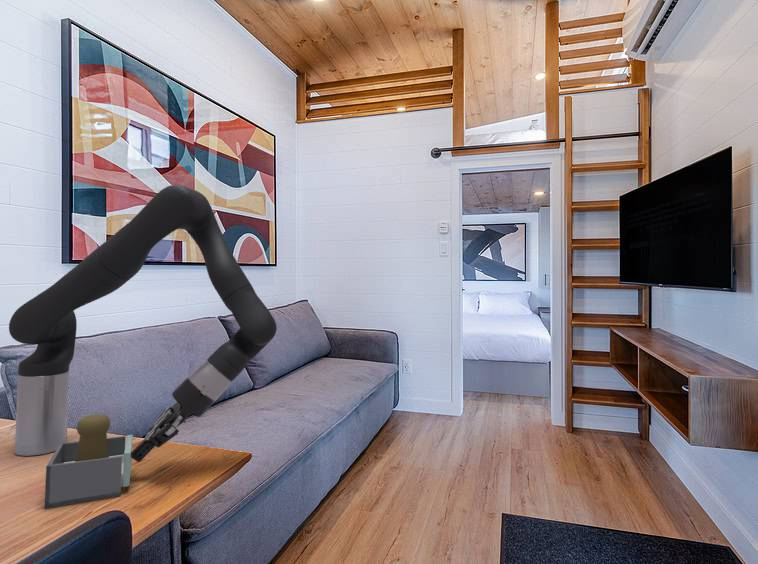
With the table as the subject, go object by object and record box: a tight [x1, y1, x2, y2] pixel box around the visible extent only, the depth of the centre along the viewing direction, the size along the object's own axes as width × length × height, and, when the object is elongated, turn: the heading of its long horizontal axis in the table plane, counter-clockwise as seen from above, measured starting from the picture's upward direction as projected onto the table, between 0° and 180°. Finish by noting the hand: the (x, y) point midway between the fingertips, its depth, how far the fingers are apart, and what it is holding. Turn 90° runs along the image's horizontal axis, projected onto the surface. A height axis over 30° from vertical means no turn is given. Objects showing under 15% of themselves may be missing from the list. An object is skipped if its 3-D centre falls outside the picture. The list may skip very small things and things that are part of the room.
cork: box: [75, 414, 111, 462], centre depth 81 cm, size 6×6×11 cm
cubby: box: [44, 435, 126, 510], centre depth 80 cm, size 11×12×7 cm
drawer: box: [64, 434, 134, 488], centre depth 81 cm, size 11×11×6 cm
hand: (134, 458), depth 84 cm, fingers closed
